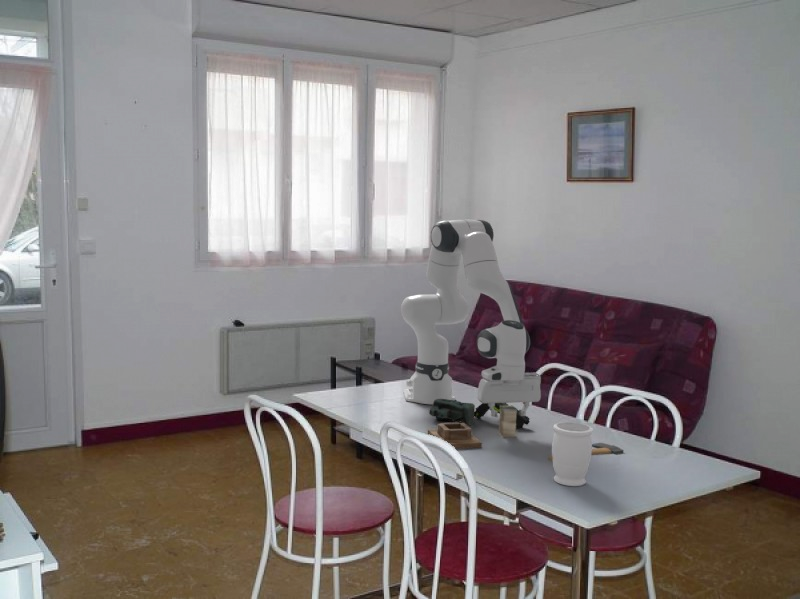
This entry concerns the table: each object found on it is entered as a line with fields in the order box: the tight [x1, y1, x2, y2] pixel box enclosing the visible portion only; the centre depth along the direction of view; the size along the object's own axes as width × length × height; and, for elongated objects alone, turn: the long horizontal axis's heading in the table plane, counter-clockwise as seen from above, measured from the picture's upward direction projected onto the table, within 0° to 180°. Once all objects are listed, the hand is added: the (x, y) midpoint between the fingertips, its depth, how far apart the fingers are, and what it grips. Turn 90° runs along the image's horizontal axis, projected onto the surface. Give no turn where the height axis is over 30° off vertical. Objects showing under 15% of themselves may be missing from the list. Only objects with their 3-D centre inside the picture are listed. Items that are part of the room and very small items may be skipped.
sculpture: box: [428, 399, 476, 426], centre depth 280 cm, size 12×8×15 cm
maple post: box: [498, 404, 518, 438], centre depth 266 cm, size 4×4×9 cm
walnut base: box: [427, 422, 483, 450], centre depth 257 cm, size 16×12×4 cm
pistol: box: [474, 403, 531, 430], centre depth 279 cm, size 21×3×10 cm, turn 54°
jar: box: [551, 421, 594, 487], centre depth 223 cm, size 11×10×15 cm
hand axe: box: [548, 442, 624, 462], centre depth 250 cm, size 27×2×10 cm
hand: (508, 416), depth 265 cm, fingers open, 8 cm apart
